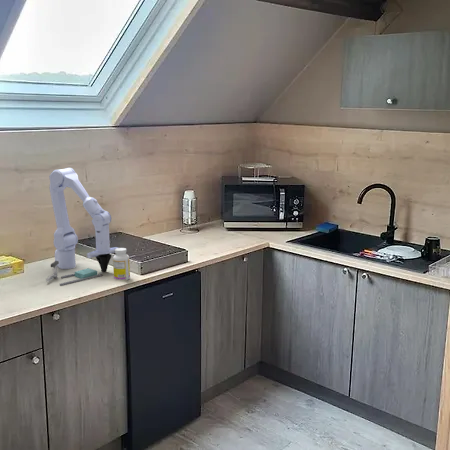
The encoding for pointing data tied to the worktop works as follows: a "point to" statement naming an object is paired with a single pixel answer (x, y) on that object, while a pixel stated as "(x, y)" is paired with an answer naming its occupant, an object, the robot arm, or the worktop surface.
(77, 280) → the channel
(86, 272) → the cover
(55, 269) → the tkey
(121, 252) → the supplement bottle
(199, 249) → the worktop surface
